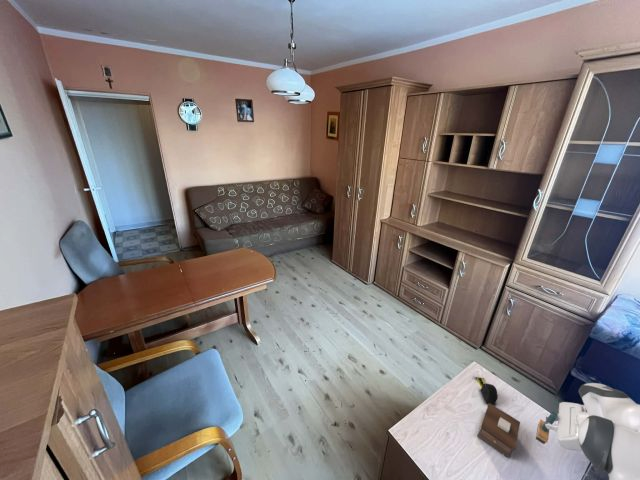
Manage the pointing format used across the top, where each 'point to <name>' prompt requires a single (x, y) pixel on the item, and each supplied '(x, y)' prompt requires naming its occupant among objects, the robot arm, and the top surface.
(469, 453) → the top surface
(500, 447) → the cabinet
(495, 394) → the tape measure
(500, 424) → the felt pad
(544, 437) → the brush
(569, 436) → the robot arm
